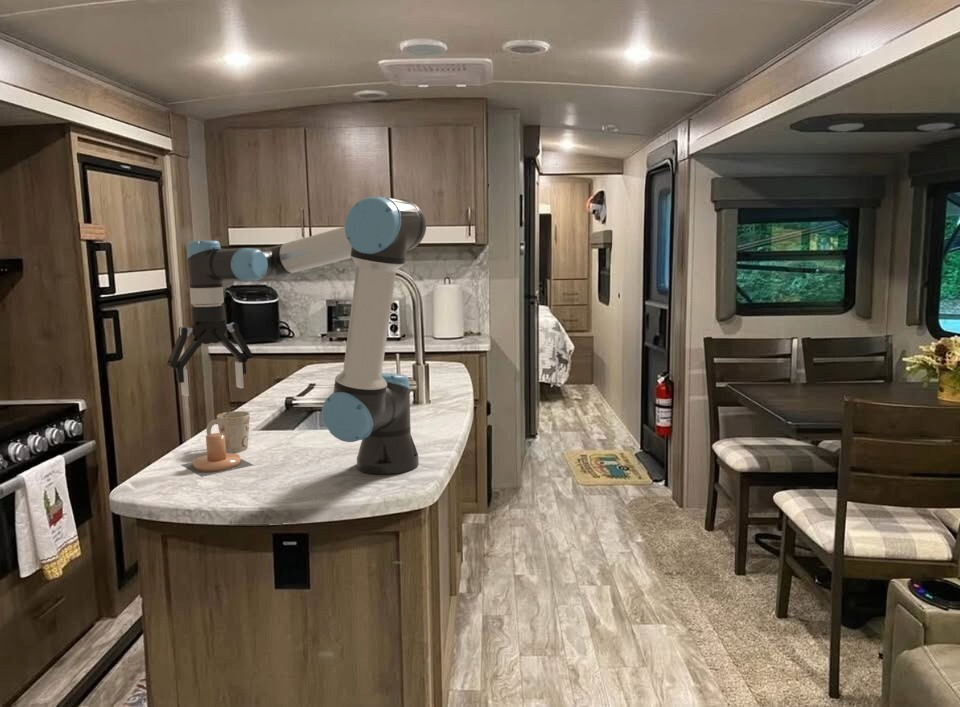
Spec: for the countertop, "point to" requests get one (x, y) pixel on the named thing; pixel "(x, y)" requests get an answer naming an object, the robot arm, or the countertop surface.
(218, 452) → the lid
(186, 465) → the mat
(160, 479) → the countertop surface
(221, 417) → the mug
